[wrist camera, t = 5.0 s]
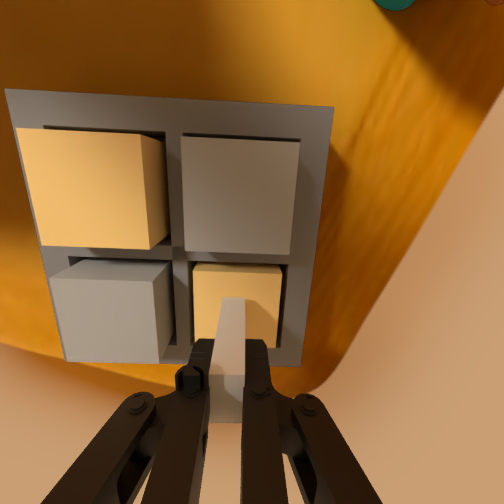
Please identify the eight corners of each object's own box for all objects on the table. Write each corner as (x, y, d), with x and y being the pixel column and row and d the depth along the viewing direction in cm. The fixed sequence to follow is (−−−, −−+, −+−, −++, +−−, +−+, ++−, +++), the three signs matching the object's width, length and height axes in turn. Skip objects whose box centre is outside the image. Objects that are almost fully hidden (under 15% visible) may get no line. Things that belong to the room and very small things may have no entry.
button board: (98, 327, 24) (65, 361, 19) (61, 108, 18) (3, 88, 14) (291, 332, 24) (300, 367, 20) (314, 121, 19) (334, 106, 14)
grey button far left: (101, 325, 20) (67, 361, 16) (89, 256, 18) (48, 278, 15) (175, 328, 20) (159, 364, 17) (171, 259, 19) (152, 281, 15)
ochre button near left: (85, 229, 18) (41, 245, 14) (70, 138, 16) (15, 127, 12) (170, 233, 18) (149, 249, 14) (165, 142, 16) (140, 134, 12)
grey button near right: (198, 234, 18) (185, 250, 14) (196, 144, 16) (180, 136, 12) (280, 237, 18) (289, 254, 14) (287, 149, 16) (300, 142, 13)
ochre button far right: (203, 316, 22) (194, 345, 19) (203, 252, 20) (192, 270, 17) (270, 318, 22) (275, 348, 19) (275, 255, 21) (282, 274, 17)
